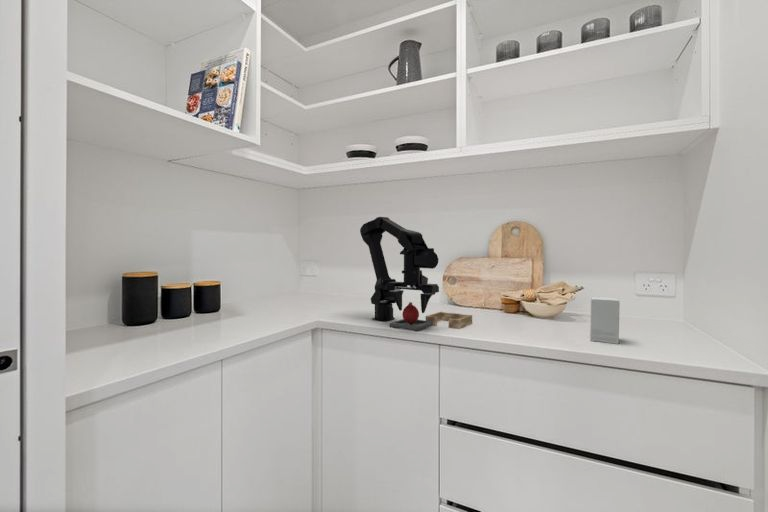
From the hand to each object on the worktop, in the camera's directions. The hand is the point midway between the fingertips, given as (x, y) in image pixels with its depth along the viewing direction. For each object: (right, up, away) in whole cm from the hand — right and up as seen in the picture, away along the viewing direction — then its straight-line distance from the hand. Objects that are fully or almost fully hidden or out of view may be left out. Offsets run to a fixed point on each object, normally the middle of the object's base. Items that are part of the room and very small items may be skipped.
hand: (411, 311), depth 129 cm
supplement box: (+57, -6, -19) cm, 60 cm away
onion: (0, -5, 0) cm, 5 cm away
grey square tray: (0, -5, 0) cm, 5 cm away
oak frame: (+14, -5, +5) cm, 16 cm away
